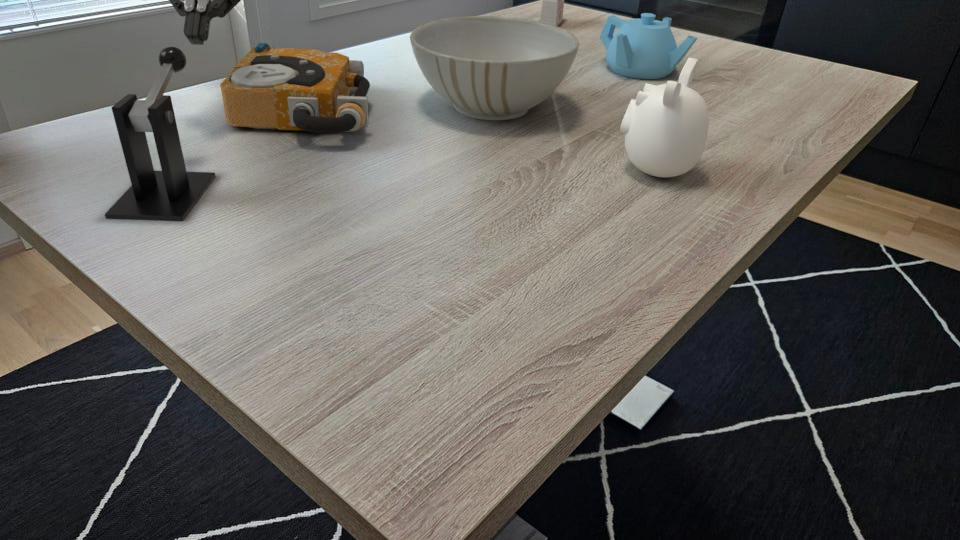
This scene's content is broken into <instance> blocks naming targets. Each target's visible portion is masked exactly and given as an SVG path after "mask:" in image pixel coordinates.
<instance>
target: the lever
mask: <svg viewBox="0 0 960 540" xmlns="http://www.w3.org/2000/svg"><path fill="white" fill-rule="evenodd" d="M158 63H159V65H160V67H161V68H160V70H159V72H158V74H157V76H156V78H155V80H154V82H153V84H152V86H151V88H150V89H149V92H148V93H147V96H146V98H145V99H144V100H143V99H137V100H136V101H135V103H134V105H133V107H132V109H131V111H130V113H129V115H128V116H129V118H130V121H131V123H132V125H133V127H134V130H135V132H145V133H153V130H152V126H151V122H150V117H149V113H148V108H149V107H150V106H151V105H152V104H153V103H154V102H155V101H157V100H158V99H159V98H160V97H161V96H162V95H164V93H165V91H166V89H167V87H168V85H169V83H170V82H171V81H170V80H172V79H171V78H172V77H173V75H174V74H177V73H181V72H182V71H183V70H185V68H186V65H187V57H186V55H185V53H184V52H183V51H182V49H180V48H179V47H176V46H165V47H164V48H162V49H161V50H160V52H159V53H158Z"/></svg>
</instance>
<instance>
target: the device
mask: <svg viewBox="0 0 960 540" xmlns="http://www.w3.org/2000/svg"><path fill="white" fill-rule="evenodd" d="M219 86H220V90H221V91H220V92H221V96H222V97H221V99H222V103H223V109H224V115H225V121H226V123H228V124H229V125H231V126H232V127H238V128H239V127H240V128H251V129H255V130H276V129H277V130H279V131H298V132H299V131H301V132H308V133H315V134H330V135H331V134H332V135H333V134H343V133H348V132H356V131H358V130H360V129H361V128H362V127H363V128H368V127H369V101H368V99H369V98H368V96H367V95H368V92H369V90H370V87H371V84H370V81H369V79H368V78H366V77H365V65H364V62H363V61H362V60H357V59H356V60H355V59H354V60H352V59H351V60H350V58H349V56H347V55H344V54H342V53H339V52H327V51H321V50H319V49H311V48H309V49H308V48H293V47H292V48H290V47H274V46H273V47H271V46H270V45H269V43H266V42H258V44H257V45H256V46H254V47H252V48H251V49H250V51H248V53H247V54H245V56H244V57H243V58H242V59H240V60H239V61H238V62H237V63H236V64H235V65H234V66H233V70H232V71H230V73H229V74H228V75H227V76H226V77H225V79H224V80H223V81H222V82H221V83H220V85H219ZM352 89H356V90H355V92H354V95H350V94H351V92H352Z"/></svg>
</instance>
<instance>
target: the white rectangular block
mask: <svg viewBox="0 0 960 540" xmlns="http://www.w3.org/2000/svg"><path fill="white" fill-rule="evenodd" d="M564 8H565V0H542V1H541V15H540V22H543V23H547V24H551V25H554V26H557V27H560V25H561V24H562V23H563V18H564Z"/></svg>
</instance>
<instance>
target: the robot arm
mask: <svg viewBox="0 0 960 540" xmlns="http://www.w3.org/2000/svg"><path fill="white" fill-rule="evenodd" d="M168 1H169V3H170V4H171V5H172V7H173V8H174V10H175V11H176V13H177V14H178V16H180V17H184V22H183V23H184V24H183V35H184V36H185V37H186V39H187V40H188V42H189V43H190V45H192V46H194V45H195V46H196V45H197V46H204V43H205V42H206V41H208V39H209V35H210V26H211V21H212V20H213V19H214V18H219V19H222V18H225V17H226V16H227V15H228V14H229V13H230V12H231V11H232V10H233V9H234V8H235V7H236V6H237V5H238V4H239V3H240V2H241V1H242V0H184V1H182V0H168Z"/></svg>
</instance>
